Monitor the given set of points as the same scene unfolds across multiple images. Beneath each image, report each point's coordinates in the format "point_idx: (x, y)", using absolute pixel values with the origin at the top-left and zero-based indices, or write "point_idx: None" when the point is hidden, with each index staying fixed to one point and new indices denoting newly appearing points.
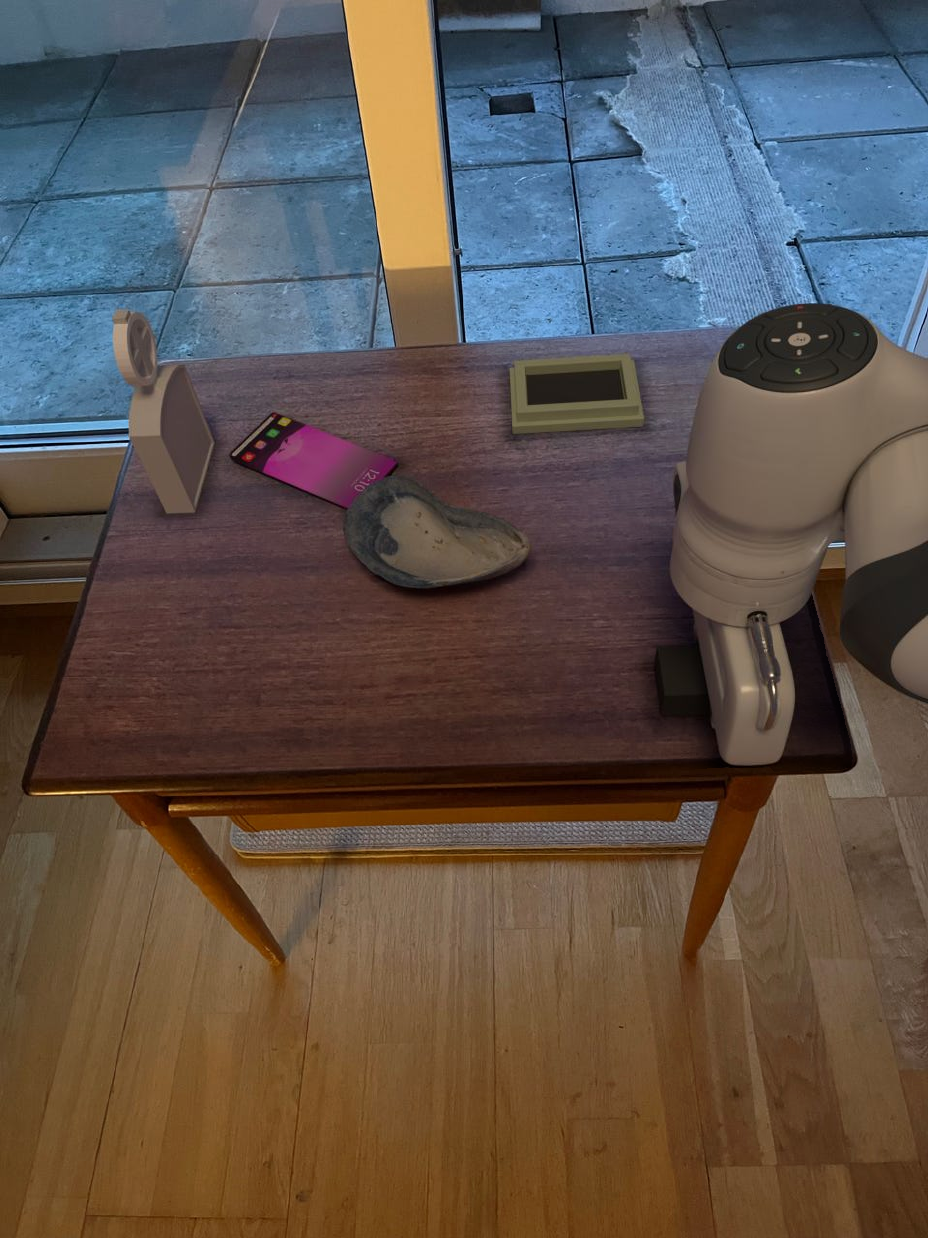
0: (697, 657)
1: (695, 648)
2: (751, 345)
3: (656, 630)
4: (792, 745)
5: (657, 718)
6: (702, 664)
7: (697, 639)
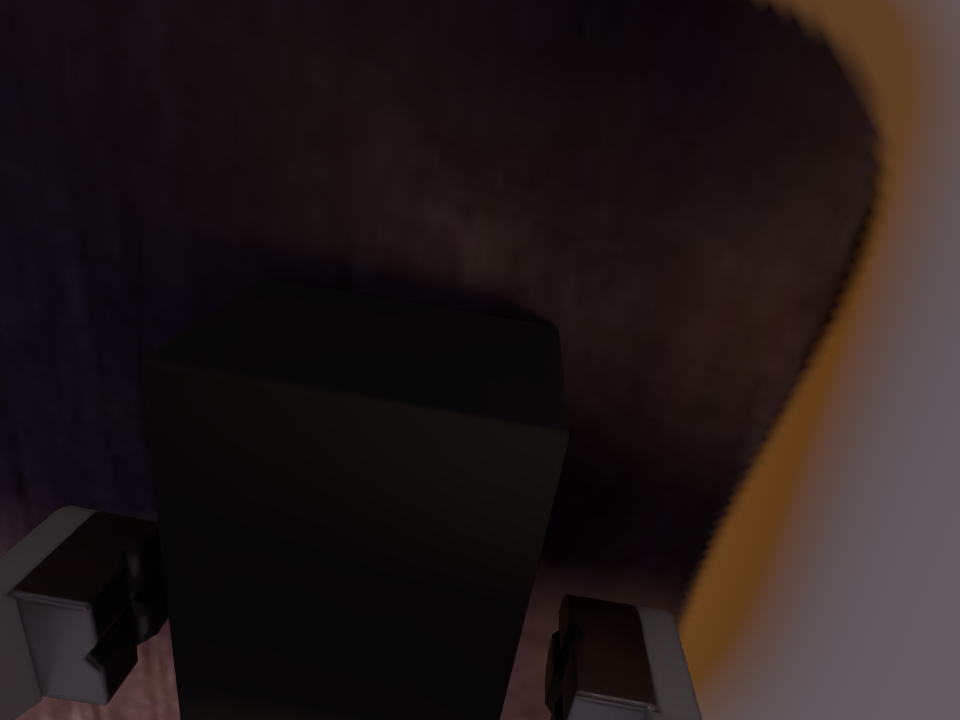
0: (263, 713)
1: (207, 710)
2: None
3: None
4: (769, 289)
5: None
6: (309, 709)
7: (143, 636)
